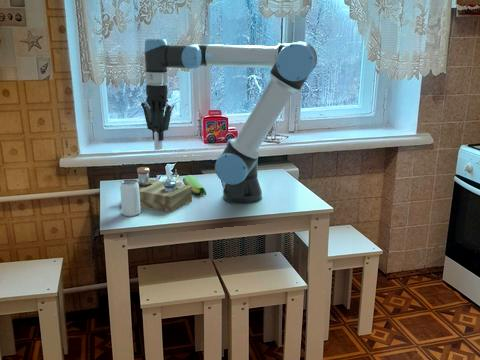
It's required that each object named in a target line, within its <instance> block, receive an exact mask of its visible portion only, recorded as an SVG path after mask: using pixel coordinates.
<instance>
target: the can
mask: <svg viewBox="0 0 480 360" xmlns="http://www.w3.org/2000/svg"><path fill="white" fill-rule="evenodd" d="M137 182H138V180H137V179H132V178H129V179H124V180H123V179H122V180H121V181H120V186H119V190H120V191H119V192H120V203H121V213H122V215H123V216H124V217H136V216H139V215H140V214H141V207H140V195H139V184H138V183H137Z"/></svg>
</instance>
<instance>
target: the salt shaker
mask: <svg viewBox="0 0 480 360" xmlns="http://www.w3.org/2000/svg"><path fill="white" fill-rule="evenodd" d="M163 182H164V187H165V191H168V192H173V191H175V190H176V189H175V186H176V184H177V181H176V180H165V181H163Z"/></svg>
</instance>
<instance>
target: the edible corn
mask: <svg viewBox="0 0 480 360" xmlns="http://www.w3.org/2000/svg"><path fill="white" fill-rule="evenodd" d="M182 182H183V185H188V186H192V194H193V193H194V194H195V195H196V196H201V197H204V196H206V195H207V191H206V189H205V187H204V186H203V185H202V184H201V183H200V182H199V181H198V179H196V177H194V175H192V174H189V175H186V176H185V177H183V179H182Z"/></svg>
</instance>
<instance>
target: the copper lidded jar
mask: <svg viewBox="0 0 480 360" xmlns="http://www.w3.org/2000/svg"><path fill="white" fill-rule="evenodd" d="M136 172H137V176H138V177H137V178H138V181H139V187H144V188H146V187H148V186H150V185H149V179H150V172H151V171H150V167H148V166H141V167H137V168H136Z"/></svg>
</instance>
